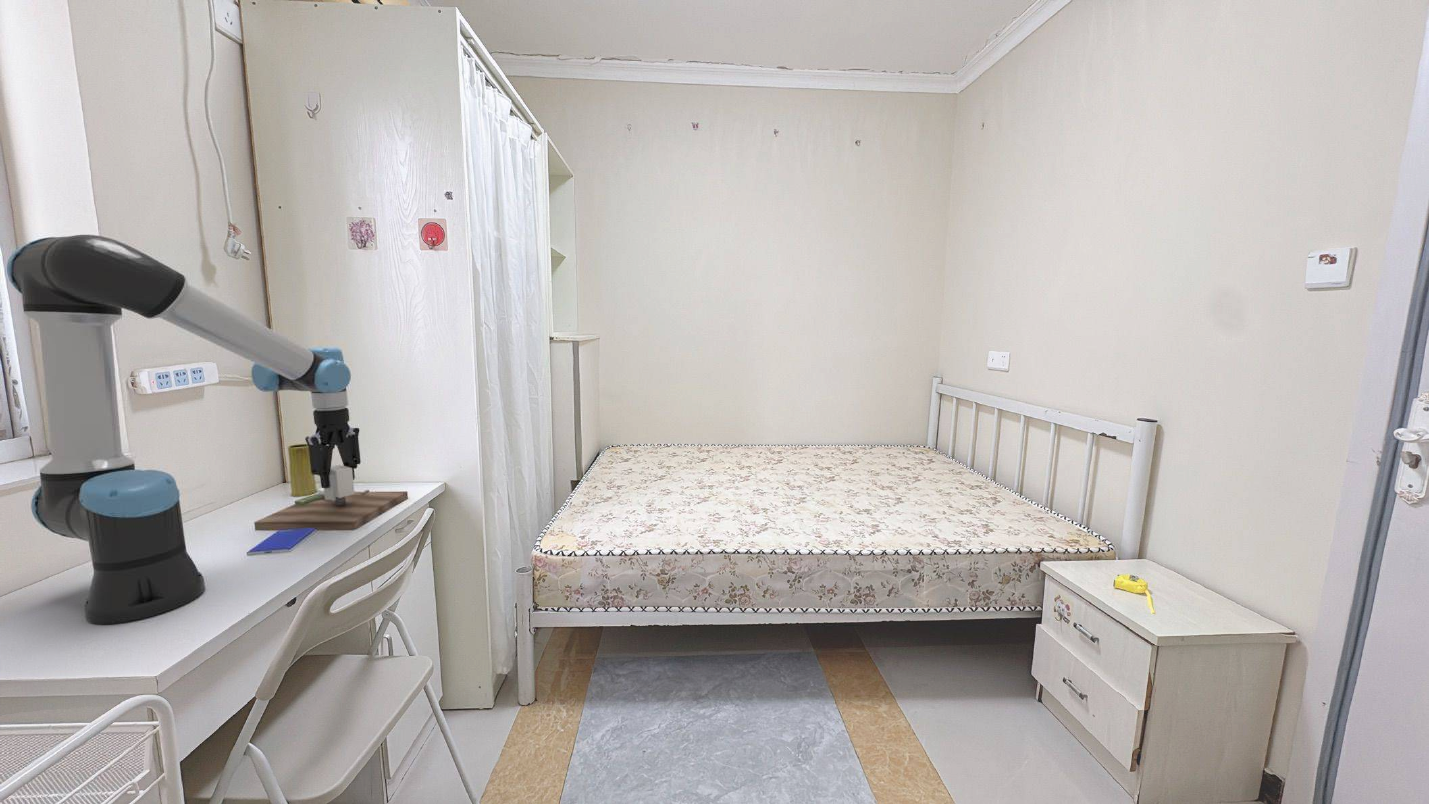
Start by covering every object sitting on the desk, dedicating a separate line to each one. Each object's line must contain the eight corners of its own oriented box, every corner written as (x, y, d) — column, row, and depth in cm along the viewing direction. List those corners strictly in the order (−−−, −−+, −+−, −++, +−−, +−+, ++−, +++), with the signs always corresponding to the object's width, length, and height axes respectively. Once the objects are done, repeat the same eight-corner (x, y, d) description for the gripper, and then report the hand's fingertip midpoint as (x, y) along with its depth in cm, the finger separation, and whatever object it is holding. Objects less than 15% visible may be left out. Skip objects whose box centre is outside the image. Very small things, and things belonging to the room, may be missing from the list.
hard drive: (276, 530, 133) (246, 551, 121) (315, 527, 135) (289, 547, 123) (277, 536, 133) (247, 558, 121) (316, 533, 135) (290, 554, 123)
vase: (309, 489, 168) (304, 442, 166) (321, 491, 166) (316, 444, 164) (286, 494, 163) (281, 446, 161) (298, 497, 160) (293, 448, 158)
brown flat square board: (354, 529, 136) (353, 517, 135) (255, 530, 136) (253, 518, 135) (407, 498, 159) (407, 488, 159) (323, 498, 159) (322, 488, 159)
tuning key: (355, 505, 146) (351, 468, 145) (340, 509, 144) (336, 471, 142) (328, 495, 155) (324, 460, 153) (313, 498, 152) (309, 462, 150)
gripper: (349, 402, 153) (357, 485, 156) (284, 413, 136) (295, 505, 139) (371, 403, 151) (379, 487, 154) (309, 414, 134) (319, 508, 137)
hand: (339, 495), depth 147 cm, fingers closed on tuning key, 5 cm apart
